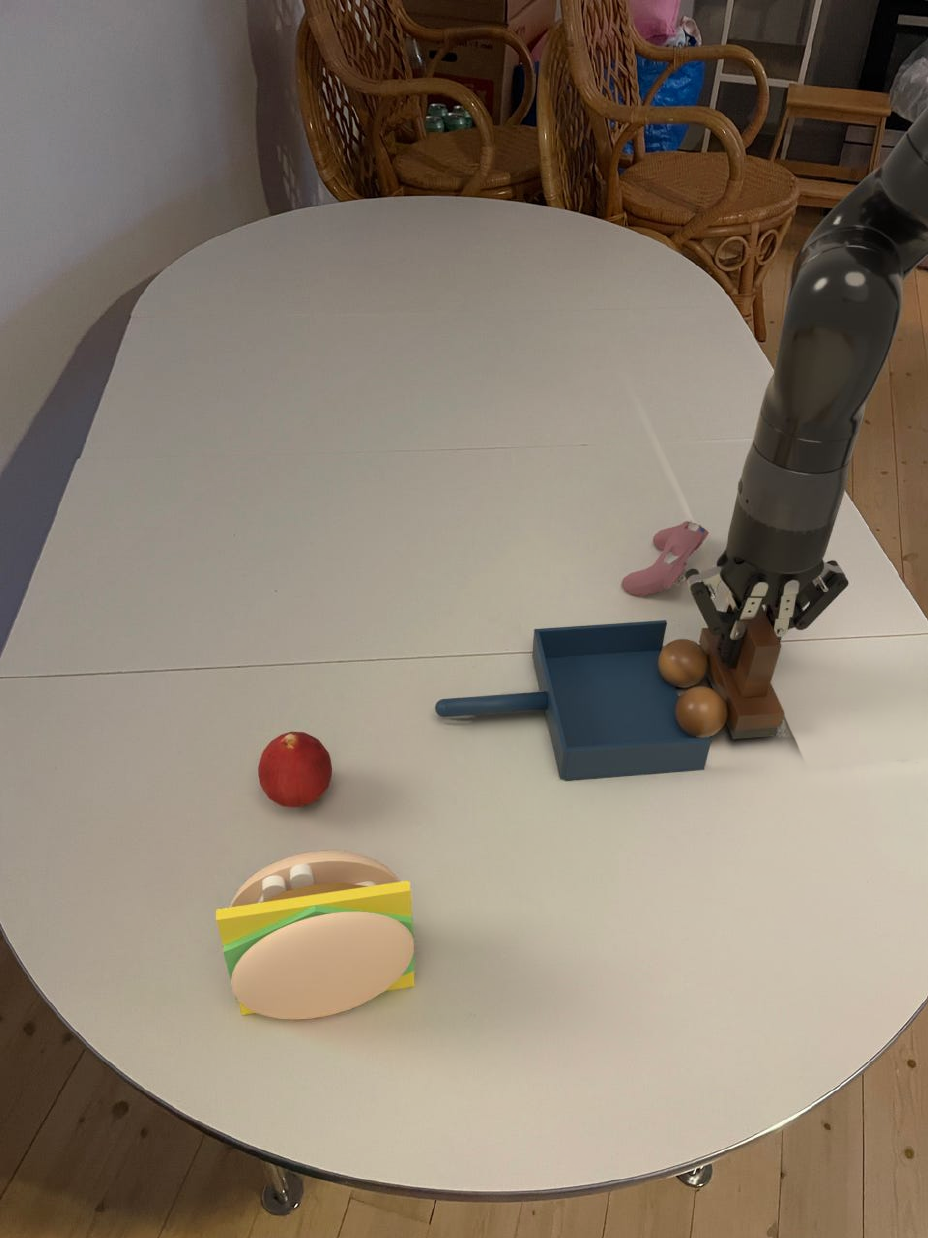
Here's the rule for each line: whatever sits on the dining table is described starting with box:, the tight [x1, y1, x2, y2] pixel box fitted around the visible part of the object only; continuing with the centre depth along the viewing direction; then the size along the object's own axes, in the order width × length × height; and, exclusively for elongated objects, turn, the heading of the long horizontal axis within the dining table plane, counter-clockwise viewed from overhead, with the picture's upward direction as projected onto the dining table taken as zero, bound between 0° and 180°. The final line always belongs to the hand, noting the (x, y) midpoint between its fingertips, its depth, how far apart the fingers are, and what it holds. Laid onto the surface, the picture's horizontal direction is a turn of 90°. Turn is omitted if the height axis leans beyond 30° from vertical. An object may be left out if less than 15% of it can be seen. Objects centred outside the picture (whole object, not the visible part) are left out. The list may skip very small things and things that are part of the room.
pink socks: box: [621, 520, 709, 596], centre depth 105 cm, size 10×5×7 cm, turn 150°
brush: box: [698, 605, 785, 740], centre depth 90 cm, size 4×11×9 cm, turn 6°
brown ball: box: [658, 638, 708, 688], centre depth 94 cm, size 4×4×4 cm
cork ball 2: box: [675, 685, 728, 738], centre depth 90 cm, size 4×4×4 cm
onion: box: [257, 731, 333, 808], centre depth 83 cm, size 6×6×8 cm
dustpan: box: [434, 619, 712, 782], centre depth 91 cm, size 22×15×4 cm
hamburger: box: [215, 850, 416, 1021], centre depth 70 cm, size 12×8×12 cm
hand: (744, 660), depth 91 cm, fingers closed on brush, 2 cm apart
